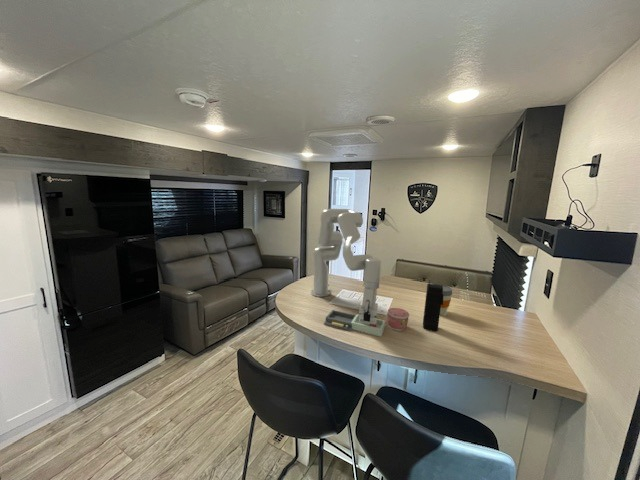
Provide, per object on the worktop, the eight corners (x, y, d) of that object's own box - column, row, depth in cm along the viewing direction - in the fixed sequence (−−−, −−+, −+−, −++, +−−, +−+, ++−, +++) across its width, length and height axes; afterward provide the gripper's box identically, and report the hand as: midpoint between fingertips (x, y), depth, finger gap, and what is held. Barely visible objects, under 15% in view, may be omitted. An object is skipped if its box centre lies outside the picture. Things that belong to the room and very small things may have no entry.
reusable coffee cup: (443, 319, 139) (447, 293, 137) (421, 310, 148) (424, 286, 146) (453, 312, 147) (456, 288, 145) (431, 305, 157) (434, 282, 154)
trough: (356, 320, 134) (356, 314, 134) (384, 326, 128) (385, 320, 128) (350, 329, 125) (351, 322, 125) (381, 336, 119) (381, 329, 119)
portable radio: (438, 326, 131) (444, 280, 126) (440, 332, 125) (446, 284, 121) (422, 323, 133) (427, 278, 129) (423, 329, 128) (428, 281, 123)
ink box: (376, 324, 128) (378, 303, 126) (376, 329, 124) (377, 307, 121) (359, 322, 130) (360, 300, 128) (358, 326, 126) (359, 304, 124)
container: (385, 329, 126) (386, 314, 125) (387, 320, 136) (388, 306, 134) (407, 334, 122) (409, 318, 121) (407, 324, 132) (409, 309, 131)
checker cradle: (333, 313, 141) (333, 308, 141) (358, 318, 136) (358, 313, 135) (323, 324, 129) (324, 319, 128) (350, 331, 123) (350, 325, 123)
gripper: (367, 277, 132) (365, 308, 135) (359, 287, 116) (356, 322, 119) (382, 279, 129) (379, 311, 132) (375, 290, 113) (372, 326, 117)
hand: (368, 316), depth 126 cm, fingers open, 9 cm apart
